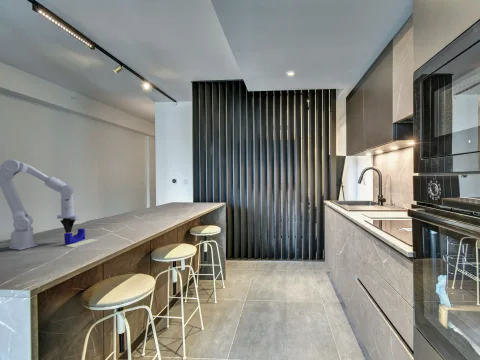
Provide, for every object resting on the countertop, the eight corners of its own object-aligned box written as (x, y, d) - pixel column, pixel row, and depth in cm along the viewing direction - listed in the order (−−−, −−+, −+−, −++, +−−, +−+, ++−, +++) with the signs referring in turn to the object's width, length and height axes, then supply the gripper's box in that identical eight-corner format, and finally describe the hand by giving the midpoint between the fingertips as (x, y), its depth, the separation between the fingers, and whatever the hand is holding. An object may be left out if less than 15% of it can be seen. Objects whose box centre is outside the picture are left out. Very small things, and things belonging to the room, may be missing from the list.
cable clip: (77, 239, 144) (76, 228, 144) (85, 239, 144) (84, 228, 144) (61, 245, 132) (61, 233, 132) (70, 245, 132) (70, 233, 132)
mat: (65, 246, 130) (65, 245, 130) (90, 239, 142) (90, 238, 142) (73, 247, 127) (73, 246, 127) (98, 240, 140) (98, 239, 140)
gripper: (83, 206, 139) (84, 231, 140) (65, 205, 145) (66, 229, 145) (71, 208, 133) (72, 234, 133) (52, 207, 138) (53, 232, 139)
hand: (68, 232), depth 139 cm, fingers closed
